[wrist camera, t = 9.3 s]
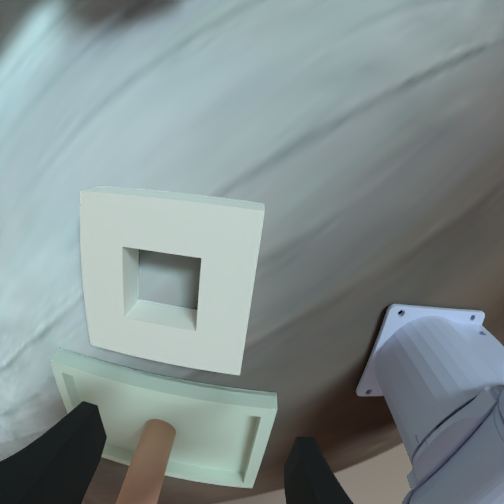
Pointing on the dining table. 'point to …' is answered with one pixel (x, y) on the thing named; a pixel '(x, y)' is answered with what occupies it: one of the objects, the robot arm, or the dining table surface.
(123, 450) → the tray
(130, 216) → the socket block
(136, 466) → the dowel
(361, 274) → the dining table surface
